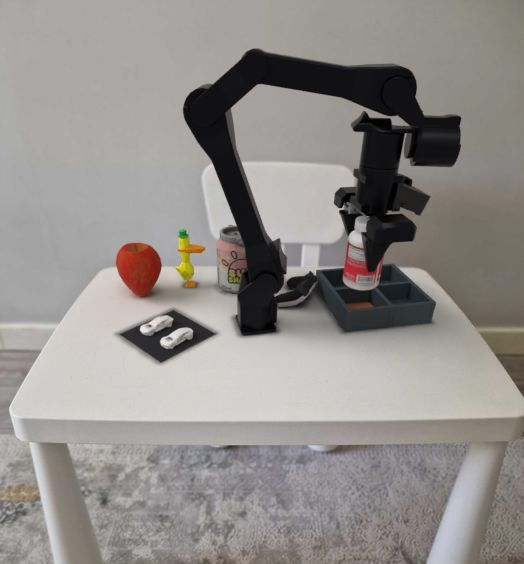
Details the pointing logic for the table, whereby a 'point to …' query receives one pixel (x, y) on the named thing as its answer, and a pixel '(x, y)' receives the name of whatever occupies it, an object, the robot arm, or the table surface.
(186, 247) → the toy figure
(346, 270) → the pill bottle
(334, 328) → the table surface
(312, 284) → the gaming controller
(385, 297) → the tray
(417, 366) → the table surface
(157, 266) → the apple
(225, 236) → the beverage can
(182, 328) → the black mat with cars
